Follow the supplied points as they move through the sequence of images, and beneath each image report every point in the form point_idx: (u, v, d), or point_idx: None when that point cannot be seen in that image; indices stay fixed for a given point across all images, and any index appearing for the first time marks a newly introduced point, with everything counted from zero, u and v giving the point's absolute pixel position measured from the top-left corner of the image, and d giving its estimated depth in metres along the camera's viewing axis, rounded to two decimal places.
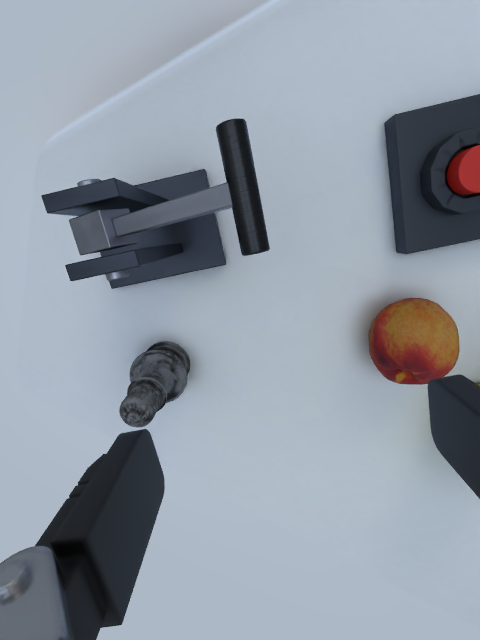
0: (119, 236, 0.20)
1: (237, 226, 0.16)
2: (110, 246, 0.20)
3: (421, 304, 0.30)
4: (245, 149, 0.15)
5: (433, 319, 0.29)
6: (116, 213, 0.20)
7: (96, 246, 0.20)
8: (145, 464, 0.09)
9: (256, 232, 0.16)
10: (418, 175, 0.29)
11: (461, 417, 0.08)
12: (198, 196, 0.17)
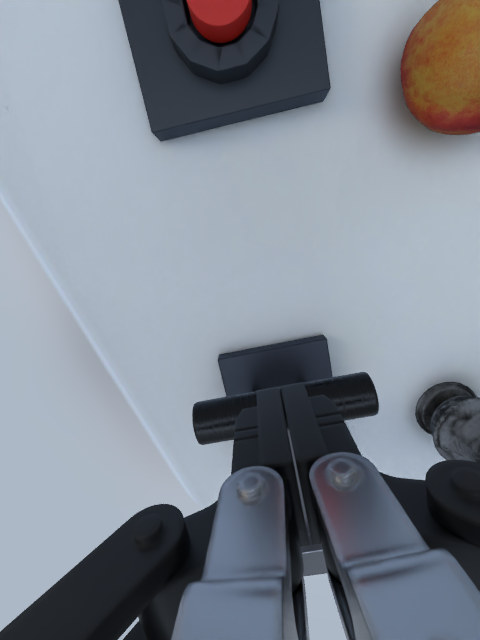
0: None
1: None
2: None
3: (420, 53, 0.18)
4: (230, 412, 0.11)
5: (455, 27, 0.17)
6: None
7: None
8: (284, 417, 0.10)
9: (346, 400, 0.10)
10: (223, 86, 0.21)
11: (287, 419, 0.09)
12: None
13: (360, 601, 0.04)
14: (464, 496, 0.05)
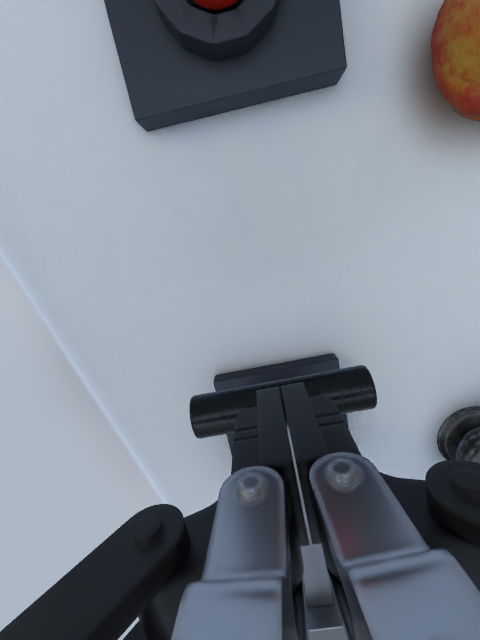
0: (334, 601, 0.13)
1: None
2: None
3: (460, 20, 0.15)
4: (227, 398, 0.11)
5: None
6: None
7: None
8: (284, 417, 0.10)
9: (342, 385, 0.10)
10: (219, 64, 0.18)
11: (287, 419, 0.09)
12: None
13: (360, 601, 0.04)
14: (464, 496, 0.05)
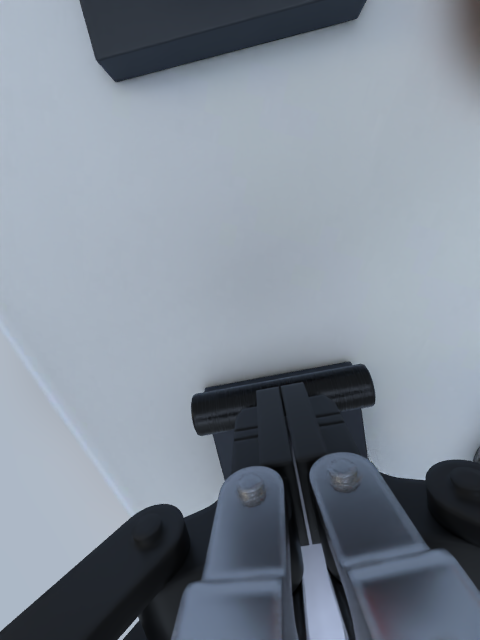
0: None
1: None
2: None
3: None
4: (228, 390, 0.11)
5: None
6: None
7: None
8: None
9: (338, 375, 0.11)
10: None
11: None
12: None
13: (360, 601, 0.04)
14: (464, 496, 0.05)
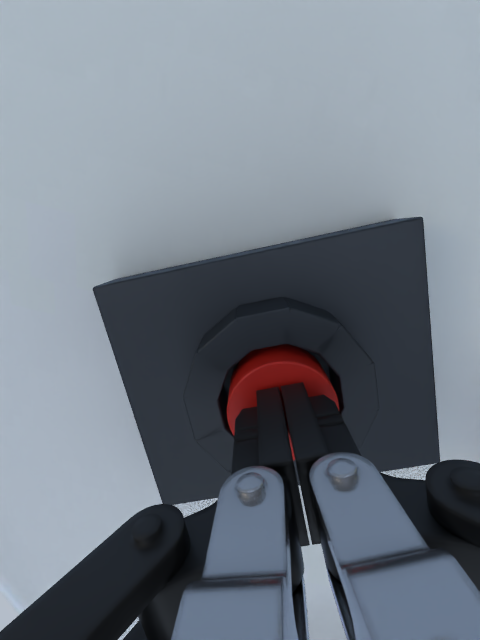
0: None
1: None
2: None
3: None
4: None
5: None
6: None
7: None
8: None
9: None
10: None
11: (287, 419, 0.09)
12: None
13: (360, 601, 0.04)
14: (464, 496, 0.05)
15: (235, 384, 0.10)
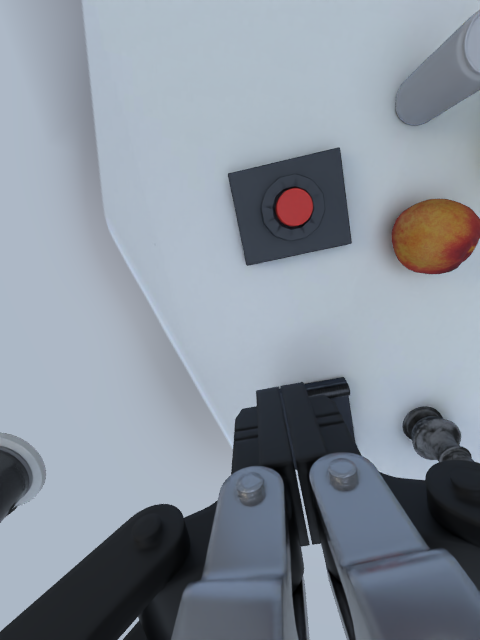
0: None
1: (336, 395, 0.34)
2: None
3: (402, 237, 0.34)
4: None
5: (419, 233, 0.33)
6: None
7: None
8: (284, 417, 0.10)
9: (338, 385, 0.34)
10: (290, 241, 0.37)
11: None
12: None
13: (360, 601, 0.04)
14: (464, 496, 0.05)
15: (280, 197, 0.33)
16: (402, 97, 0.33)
